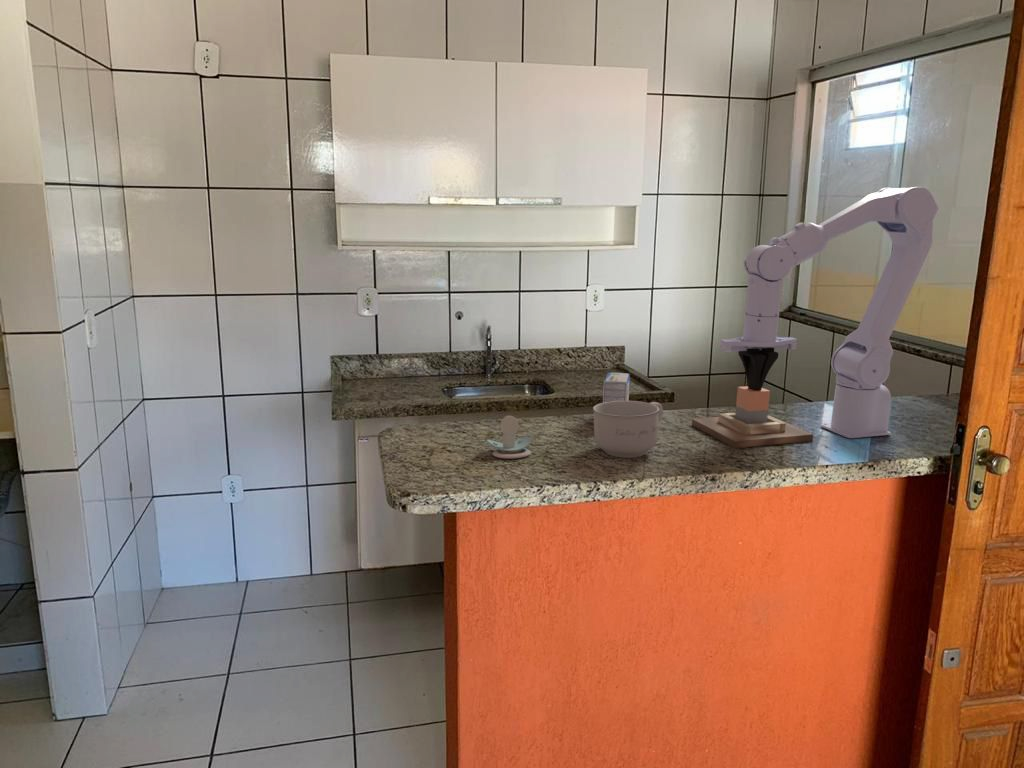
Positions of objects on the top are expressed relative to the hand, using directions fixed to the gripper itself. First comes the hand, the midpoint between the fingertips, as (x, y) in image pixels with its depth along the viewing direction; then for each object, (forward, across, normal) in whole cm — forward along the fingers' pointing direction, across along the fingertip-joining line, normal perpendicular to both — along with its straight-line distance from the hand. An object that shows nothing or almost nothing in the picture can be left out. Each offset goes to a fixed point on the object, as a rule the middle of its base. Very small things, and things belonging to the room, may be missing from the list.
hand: (754, 389), depth 137 cm
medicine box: (+8, +21, -13) cm, 26 cm away
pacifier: (+9, +46, 0) cm, 47 cm away
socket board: (+8, 0, 0) cm, 8 cm away
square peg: (+7, 0, 0) cm, 7 cm away
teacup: (+8, +26, +4) cm, 28 cm away
